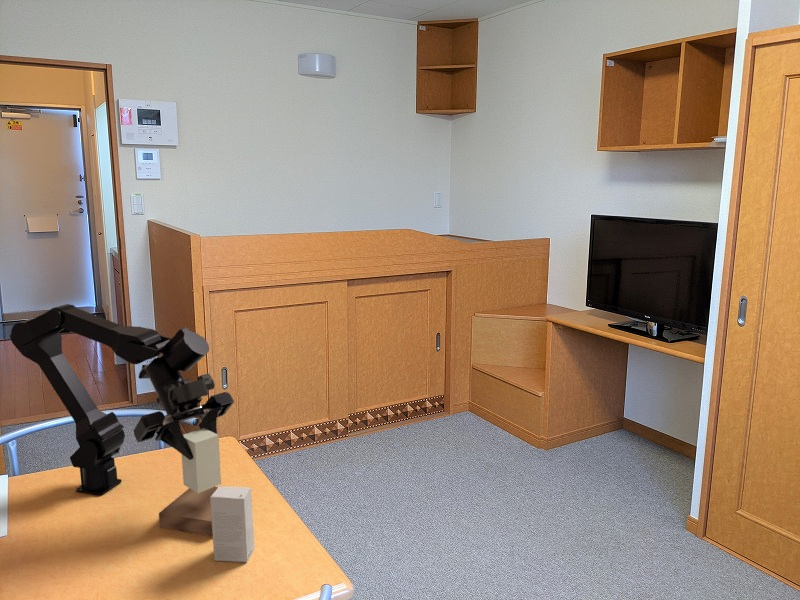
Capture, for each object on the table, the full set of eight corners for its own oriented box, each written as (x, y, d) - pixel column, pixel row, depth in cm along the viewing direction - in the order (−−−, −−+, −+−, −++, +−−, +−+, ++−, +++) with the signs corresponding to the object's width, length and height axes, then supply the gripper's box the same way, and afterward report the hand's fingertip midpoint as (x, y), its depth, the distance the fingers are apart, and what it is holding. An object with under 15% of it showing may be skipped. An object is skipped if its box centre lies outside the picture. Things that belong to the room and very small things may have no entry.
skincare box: (255, 549, 117) (252, 486, 114) (247, 563, 113) (244, 499, 110) (222, 547, 117) (218, 485, 115) (213, 561, 113) (209, 497, 111)
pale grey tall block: (183, 484, 126) (180, 435, 124) (206, 475, 129) (203, 427, 127) (197, 493, 122) (194, 443, 120) (221, 483, 126) (218, 435, 124)
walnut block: (160, 530, 124) (158, 513, 123) (195, 499, 135) (194, 483, 134) (217, 539, 120) (216, 522, 120) (248, 507, 132) (247, 491, 131)
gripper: (136, 374, 117) (173, 450, 112) (226, 352, 131) (262, 419, 126) (119, 405, 124) (152, 478, 119) (206, 381, 137) (240, 446, 132)
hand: (204, 454), depth 124 cm, fingers closed on pale grey tall block, 5 cm apart
